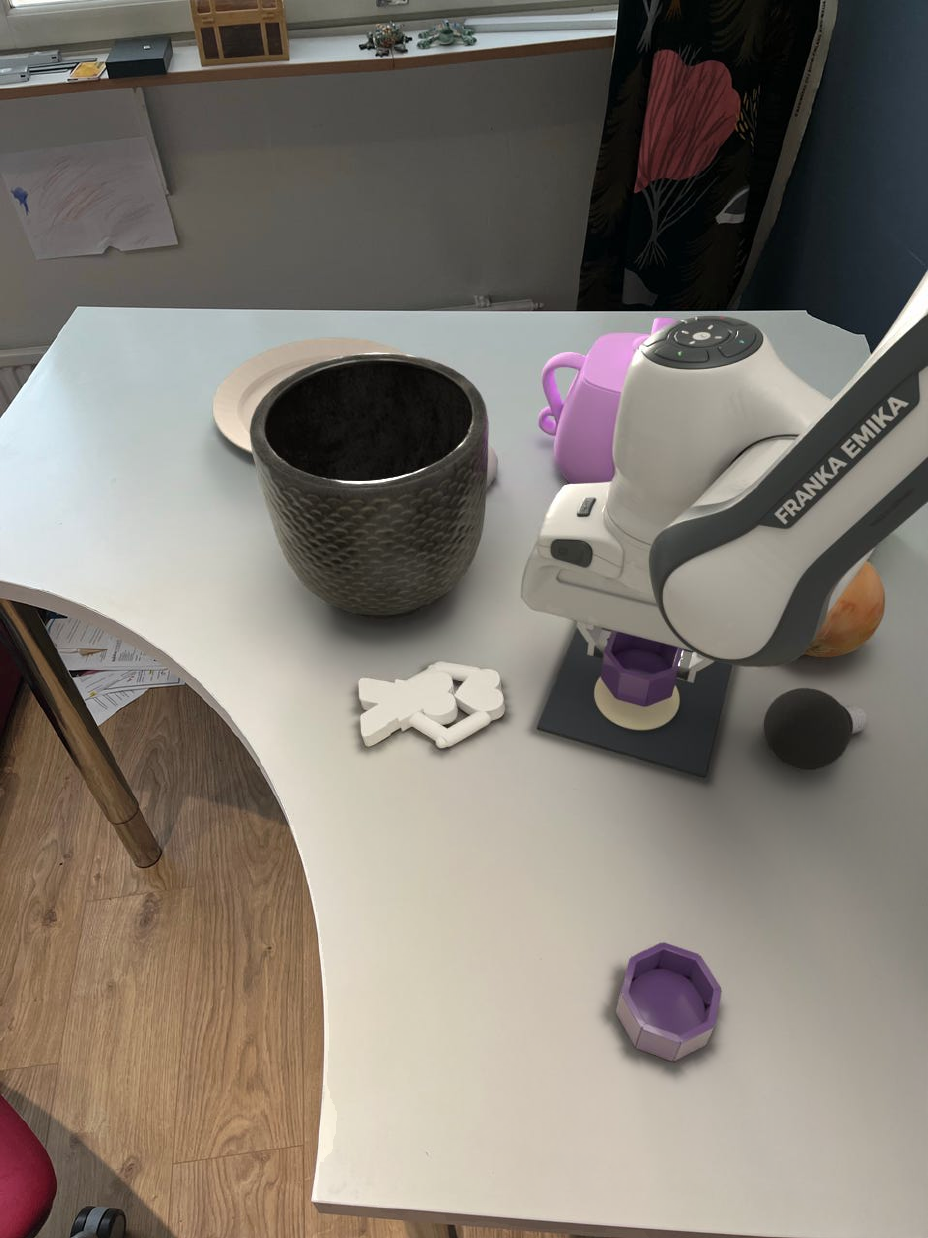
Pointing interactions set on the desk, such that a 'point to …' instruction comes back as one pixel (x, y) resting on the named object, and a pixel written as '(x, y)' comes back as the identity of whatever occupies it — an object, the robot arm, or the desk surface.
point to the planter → (374, 478)
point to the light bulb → (810, 728)
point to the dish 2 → (668, 1001)
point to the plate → (276, 379)
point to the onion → (851, 616)
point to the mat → (636, 713)
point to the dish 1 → (639, 669)
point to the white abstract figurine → (431, 703)
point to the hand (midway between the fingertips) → (641, 662)
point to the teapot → (589, 405)
